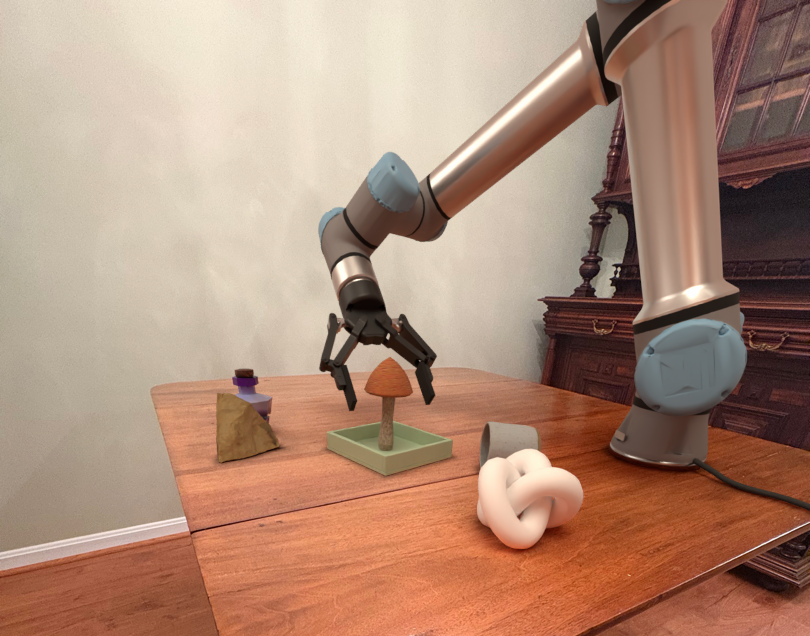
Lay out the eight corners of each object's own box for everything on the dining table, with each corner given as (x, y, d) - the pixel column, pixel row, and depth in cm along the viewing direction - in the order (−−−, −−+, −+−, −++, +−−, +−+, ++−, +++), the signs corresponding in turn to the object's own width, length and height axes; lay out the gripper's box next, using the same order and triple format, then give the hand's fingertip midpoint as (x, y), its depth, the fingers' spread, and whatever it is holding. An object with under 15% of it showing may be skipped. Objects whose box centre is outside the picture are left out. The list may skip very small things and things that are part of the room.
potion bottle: (231, 443, 77) (218, 373, 71) (228, 431, 84) (216, 366, 78) (280, 439, 80) (271, 371, 74) (273, 427, 87) (265, 364, 81)
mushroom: (417, 455, 72) (420, 359, 64) (371, 458, 70) (369, 360, 62) (403, 441, 78) (405, 353, 71) (361, 444, 76) (359, 353, 69)
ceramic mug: (538, 479, 65) (547, 429, 61) (484, 479, 64) (491, 428, 61) (520, 458, 74) (527, 413, 70) (473, 457, 74) (478, 412, 70)
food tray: (451, 457, 73) (453, 439, 71) (385, 476, 65) (385, 456, 63) (391, 435, 84) (391, 419, 82) (327, 449, 75) (326, 431, 74)
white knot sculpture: (448, 513, 54) (453, 444, 49) (531, 504, 57) (544, 438, 52) (487, 560, 44) (498, 479, 40) (585, 546, 47) (605, 470, 43)
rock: (280, 428, 78) (221, 422, 75) (281, 395, 70) (216, 387, 68) (279, 478, 74) (217, 474, 71) (279, 449, 66) (210, 444, 63)
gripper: (416, 313, 81) (450, 410, 77) (284, 311, 72) (314, 422, 67) (431, 279, 74) (469, 384, 70) (287, 273, 65) (320, 393, 60)
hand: (393, 403), depth 68 cm, fingers open, 13 cm apart
